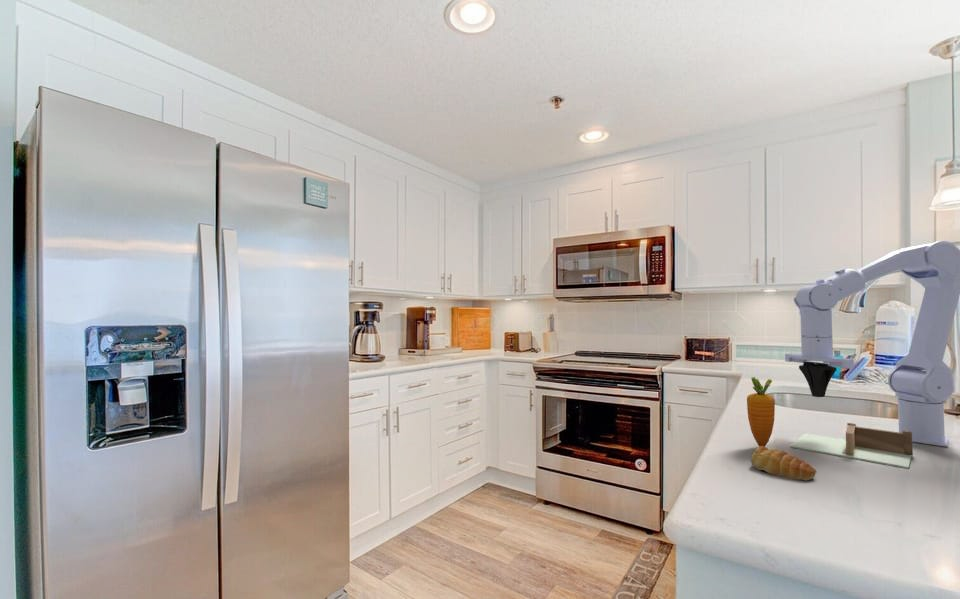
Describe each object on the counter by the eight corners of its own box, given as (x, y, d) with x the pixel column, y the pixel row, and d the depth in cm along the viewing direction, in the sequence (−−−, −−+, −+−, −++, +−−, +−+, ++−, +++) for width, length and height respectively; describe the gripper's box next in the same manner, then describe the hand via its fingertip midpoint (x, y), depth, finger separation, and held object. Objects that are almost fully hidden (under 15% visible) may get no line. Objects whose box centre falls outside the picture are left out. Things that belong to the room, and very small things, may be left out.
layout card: (804, 434, 102) (804, 432, 102) (912, 451, 89) (912, 449, 89) (790, 447, 93) (790, 445, 93) (908, 468, 79) (908, 466, 79)
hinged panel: (846, 453, 87) (845, 433, 87) (848, 444, 93) (847, 425, 93) (854, 454, 86) (853, 434, 86) (855, 445, 92) (854, 426, 92)
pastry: (823, 478, 76) (822, 456, 76) (805, 486, 72) (804, 463, 72) (765, 462, 84) (765, 442, 84) (746, 469, 80) (745, 448, 81)
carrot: (775, 446, 93) (773, 376, 93) (776, 453, 89) (774, 379, 89) (748, 443, 96) (746, 374, 96) (747, 449, 91) (746, 377, 92)
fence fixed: (848, 443, 94) (847, 422, 94) (912, 454, 87) (912, 431, 87) (847, 445, 93) (846, 423, 93) (912, 455, 86) (911, 432, 86)
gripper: (774, 335, 106) (775, 391, 106) (835, 339, 92) (837, 403, 92) (797, 335, 108) (799, 390, 107) (860, 338, 94) (863, 401, 93)
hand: (818, 396), depth 100 cm, fingers closed
